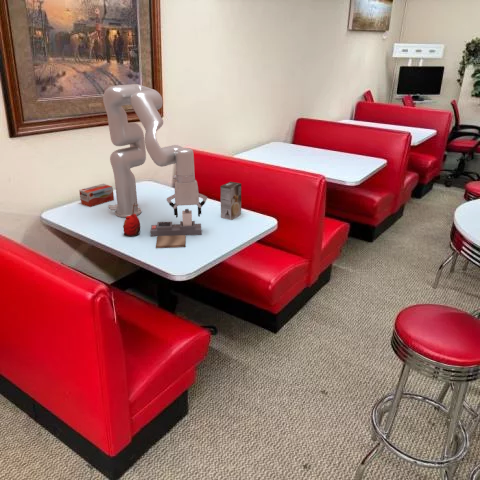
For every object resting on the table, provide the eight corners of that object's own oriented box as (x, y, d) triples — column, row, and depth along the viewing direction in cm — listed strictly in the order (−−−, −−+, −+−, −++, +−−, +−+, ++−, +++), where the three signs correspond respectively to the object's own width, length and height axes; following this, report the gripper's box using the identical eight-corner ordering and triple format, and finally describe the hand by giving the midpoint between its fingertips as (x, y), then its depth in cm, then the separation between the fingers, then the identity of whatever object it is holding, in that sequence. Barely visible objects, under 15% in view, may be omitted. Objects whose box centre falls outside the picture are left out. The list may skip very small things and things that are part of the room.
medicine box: (105, 197, 235) (103, 182, 232) (114, 200, 230) (112, 185, 227) (80, 204, 224) (78, 189, 221) (89, 207, 219) (87, 192, 216)
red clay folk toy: (133, 229, 194) (129, 197, 188) (144, 232, 191) (142, 200, 185) (120, 235, 188) (117, 202, 182) (132, 238, 185) (129, 205, 179)
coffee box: (230, 212, 216) (230, 181, 209) (241, 214, 213) (242, 183, 206) (220, 217, 209) (220, 185, 202) (231, 220, 205) (231, 188, 199)
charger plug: (183, 228, 189) (182, 211, 186) (183, 225, 193) (182, 208, 189) (192, 228, 189) (191, 211, 186) (192, 225, 193) (191, 207, 190)
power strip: (150, 236, 187) (150, 228, 186) (151, 230, 194) (151, 221, 192) (201, 234, 190) (201, 226, 188) (201, 228, 196) (200, 220, 194)
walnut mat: (155, 248, 177) (155, 245, 176) (157, 238, 186) (157, 236, 185) (185, 247, 178) (185, 244, 178) (185, 237, 187) (185, 235, 187)
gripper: (164, 181, 177) (167, 220, 184) (206, 179, 179) (208, 218, 186) (165, 176, 184) (168, 214, 191) (206, 175, 186) (207, 212, 193)
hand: (187, 216), depth 189 cm, fingers open, 9 cm apart
